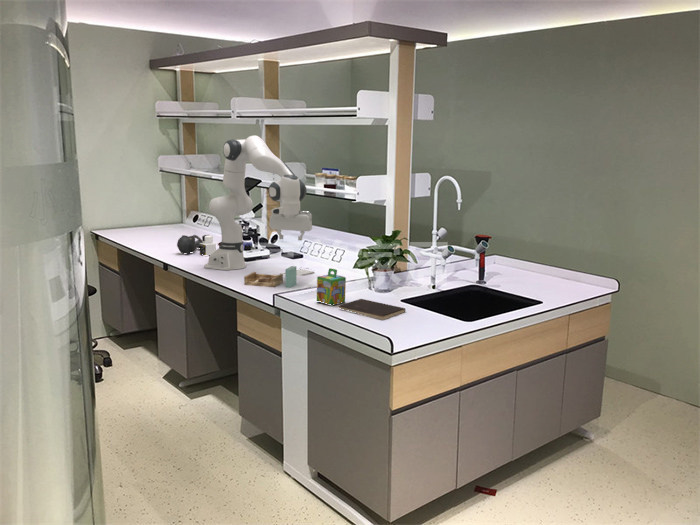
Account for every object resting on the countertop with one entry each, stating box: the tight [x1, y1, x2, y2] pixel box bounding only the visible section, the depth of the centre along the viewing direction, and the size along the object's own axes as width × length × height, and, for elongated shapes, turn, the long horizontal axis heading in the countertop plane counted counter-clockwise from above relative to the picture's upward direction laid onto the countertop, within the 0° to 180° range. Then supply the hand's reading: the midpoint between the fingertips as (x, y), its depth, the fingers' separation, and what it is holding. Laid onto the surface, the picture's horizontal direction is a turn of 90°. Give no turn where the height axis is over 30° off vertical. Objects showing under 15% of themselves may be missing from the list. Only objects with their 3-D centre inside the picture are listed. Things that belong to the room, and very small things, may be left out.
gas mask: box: [176, 234, 203, 254], centre depth 381 cm, size 14×9×25 cm
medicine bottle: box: [199, 234, 217, 256], centre depth 373 cm, size 7×7×12 cm
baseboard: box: [280, 267, 315, 276], centre depth 320 cm, size 31×3×12 cm
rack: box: [243, 271, 284, 288], centre depth 299 cm, size 15×11×5 cm
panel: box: [284, 265, 297, 289], centre depth 294 cm, size 8×2×9 cm, turn 164°
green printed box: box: [316, 268, 347, 306], centre depth 268 cm, size 9×9×15 cm
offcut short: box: [258, 277, 271, 282], centre depth 297 cm, size 5×4×2 cm
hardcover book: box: [337, 298, 406, 321], centre depth 258 cm, size 16×23×2 cm
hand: (290, 239), depth 291 cm, fingers open, 8 cm apart
